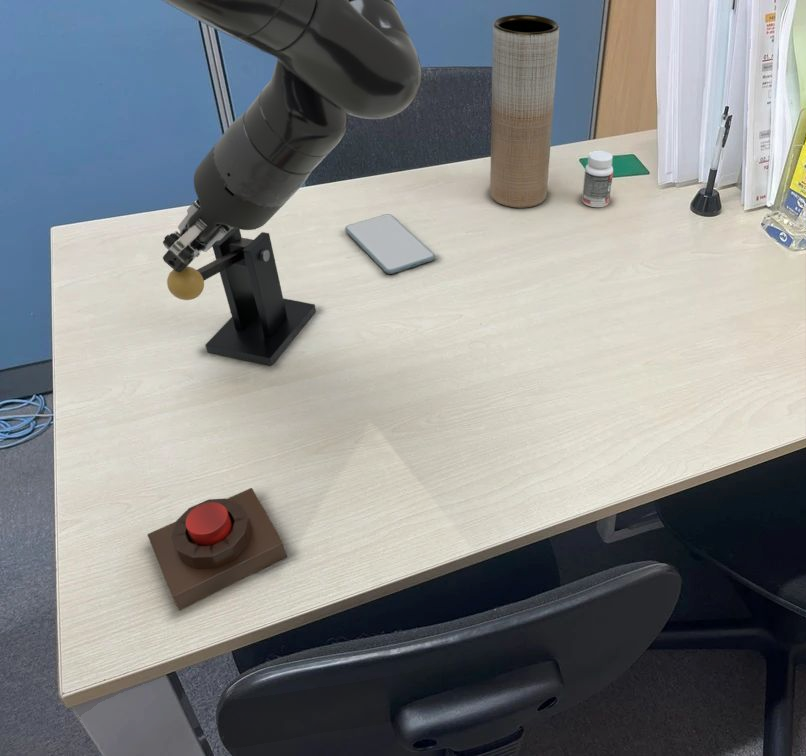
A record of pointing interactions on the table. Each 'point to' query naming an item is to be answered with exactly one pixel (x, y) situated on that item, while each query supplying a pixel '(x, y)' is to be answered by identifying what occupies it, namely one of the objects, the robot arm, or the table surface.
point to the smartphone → (389, 243)
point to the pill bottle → (598, 179)
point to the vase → (522, 108)
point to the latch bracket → (256, 305)
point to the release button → (208, 523)
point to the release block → (217, 551)
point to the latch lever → (205, 272)
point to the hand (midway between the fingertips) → (174, 262)
